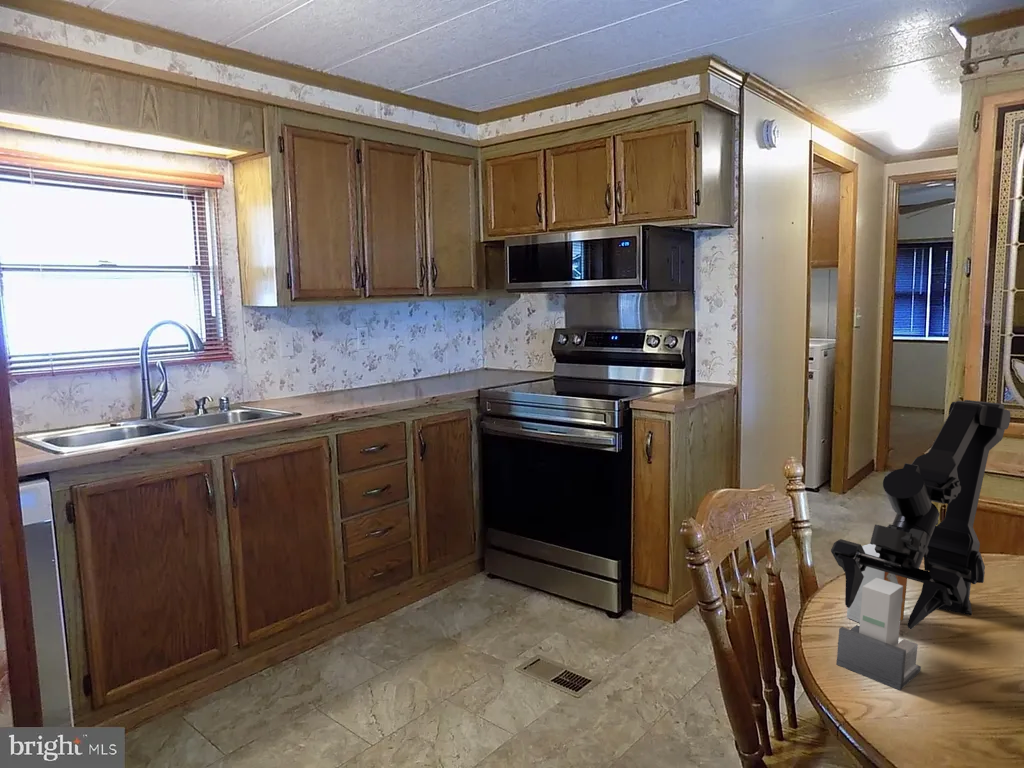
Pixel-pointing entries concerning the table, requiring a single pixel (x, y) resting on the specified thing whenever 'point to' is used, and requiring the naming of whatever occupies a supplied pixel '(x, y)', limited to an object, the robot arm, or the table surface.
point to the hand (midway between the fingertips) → (877, 616)
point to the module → (881, 610)
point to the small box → (870, 575)
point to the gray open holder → (877, 658)
